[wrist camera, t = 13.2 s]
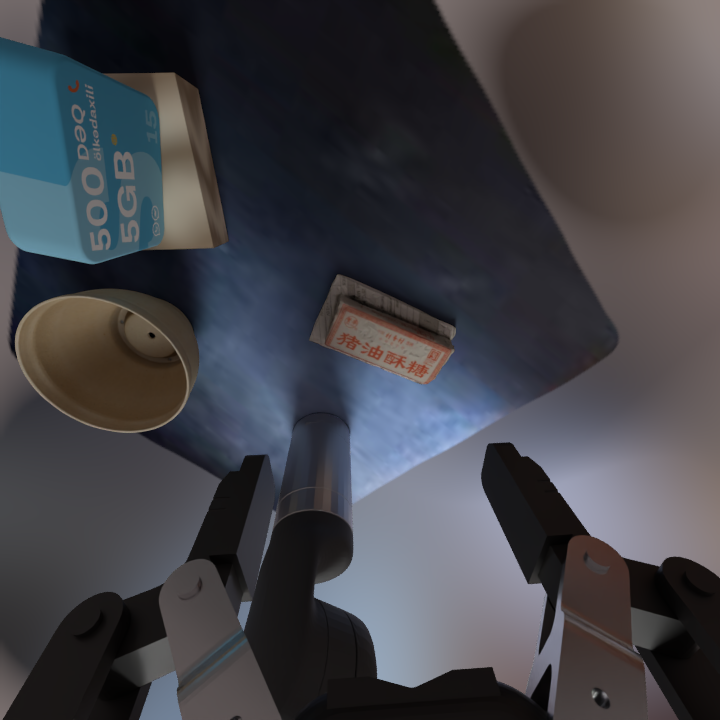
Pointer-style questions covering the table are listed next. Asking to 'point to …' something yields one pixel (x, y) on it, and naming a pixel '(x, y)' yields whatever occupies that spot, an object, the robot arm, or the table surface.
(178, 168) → the stand
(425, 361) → the packaged product
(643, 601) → the robot arm
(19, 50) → the blue product box
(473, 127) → the table surface
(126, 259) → the table surface
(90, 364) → the planter bowl
